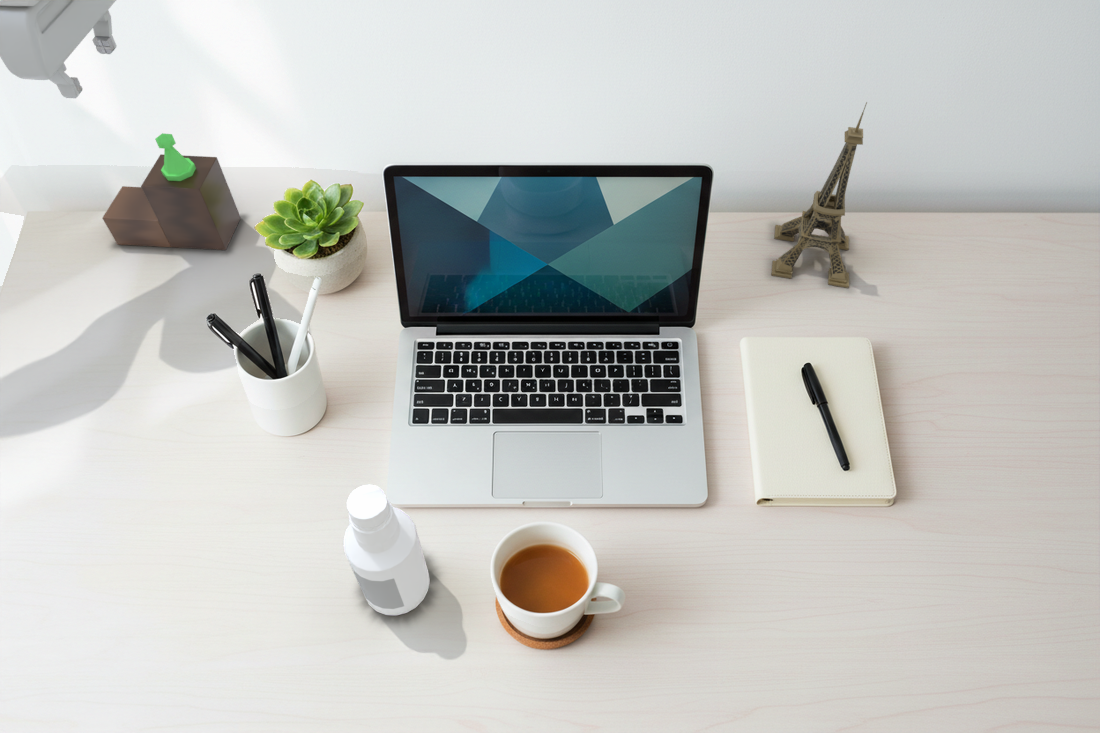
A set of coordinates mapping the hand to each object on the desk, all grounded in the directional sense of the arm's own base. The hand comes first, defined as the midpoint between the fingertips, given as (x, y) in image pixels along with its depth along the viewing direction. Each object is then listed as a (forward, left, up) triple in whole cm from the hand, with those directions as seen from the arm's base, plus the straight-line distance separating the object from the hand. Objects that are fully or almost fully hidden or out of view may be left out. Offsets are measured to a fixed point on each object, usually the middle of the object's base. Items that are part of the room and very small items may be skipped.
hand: (91, 72), depth 92 cm
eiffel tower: (+92, +4, -27) cm, 96 cm away
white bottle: (+42, -49, -27) cm, 70 cm away
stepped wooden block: (0, +2, -27) cm, 27 cm away
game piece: (+4, +2, -16) cm, 17 cm away
